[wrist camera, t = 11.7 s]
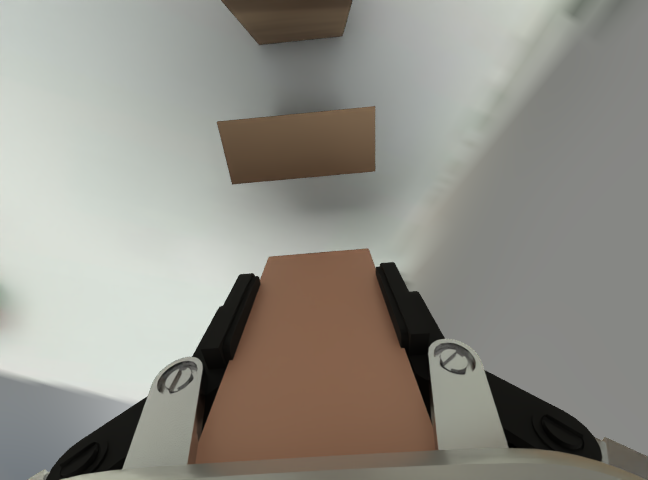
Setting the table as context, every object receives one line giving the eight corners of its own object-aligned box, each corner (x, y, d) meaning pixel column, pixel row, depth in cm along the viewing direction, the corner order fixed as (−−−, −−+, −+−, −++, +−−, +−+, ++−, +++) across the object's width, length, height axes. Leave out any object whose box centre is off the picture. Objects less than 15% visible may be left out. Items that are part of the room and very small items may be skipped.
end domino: (268, 256, 13) (145, 580, 4) (368, 248, 13) (482, 565, 4) (275, 289, 14) (187, 617, 5) (369, 281, 14) (463, 606, 5)
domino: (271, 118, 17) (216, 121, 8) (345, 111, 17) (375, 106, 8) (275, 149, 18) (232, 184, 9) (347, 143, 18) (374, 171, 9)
